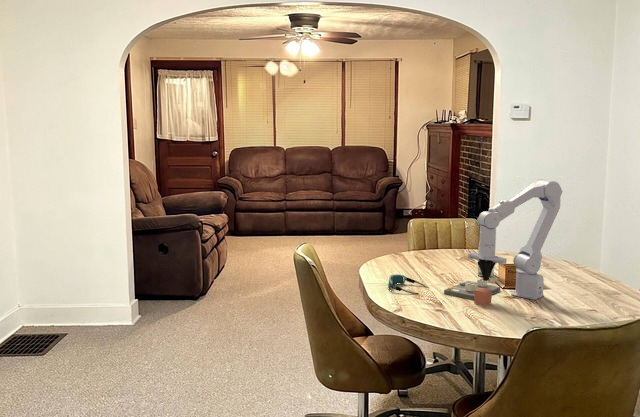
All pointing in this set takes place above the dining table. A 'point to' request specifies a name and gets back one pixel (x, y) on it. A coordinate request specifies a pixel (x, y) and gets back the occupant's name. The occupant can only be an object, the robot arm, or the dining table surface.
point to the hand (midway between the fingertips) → (486, 280)
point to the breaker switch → (481, 282)
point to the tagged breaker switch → (470, 287)
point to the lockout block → (482, 296)
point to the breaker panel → (461, 292)
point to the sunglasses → (399, 279)
